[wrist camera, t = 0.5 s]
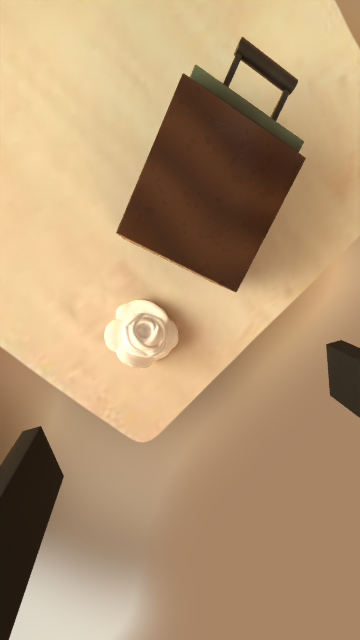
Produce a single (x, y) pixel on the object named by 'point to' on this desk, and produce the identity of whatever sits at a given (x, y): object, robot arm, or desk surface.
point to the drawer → (269, 72)
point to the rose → (141, 333)
